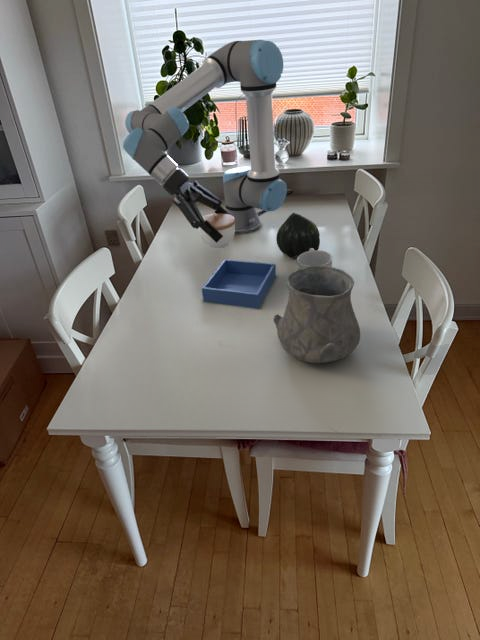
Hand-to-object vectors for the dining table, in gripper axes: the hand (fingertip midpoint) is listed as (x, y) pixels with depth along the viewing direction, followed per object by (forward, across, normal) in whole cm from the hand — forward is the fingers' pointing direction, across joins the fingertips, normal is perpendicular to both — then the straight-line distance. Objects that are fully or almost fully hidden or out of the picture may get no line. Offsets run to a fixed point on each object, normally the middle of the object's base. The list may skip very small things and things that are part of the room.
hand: (226, 231), depth 133 cm
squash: (+25, -28, -3) cm, 37 cm away
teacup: (+31, -12, +4) cm, 33 cm away
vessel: (+36, +25, +8) cm, 44 cm away
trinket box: (+1, 0, -5) cm, 5 cm away
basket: (+16, 0, -11) cm, 19 cm away
